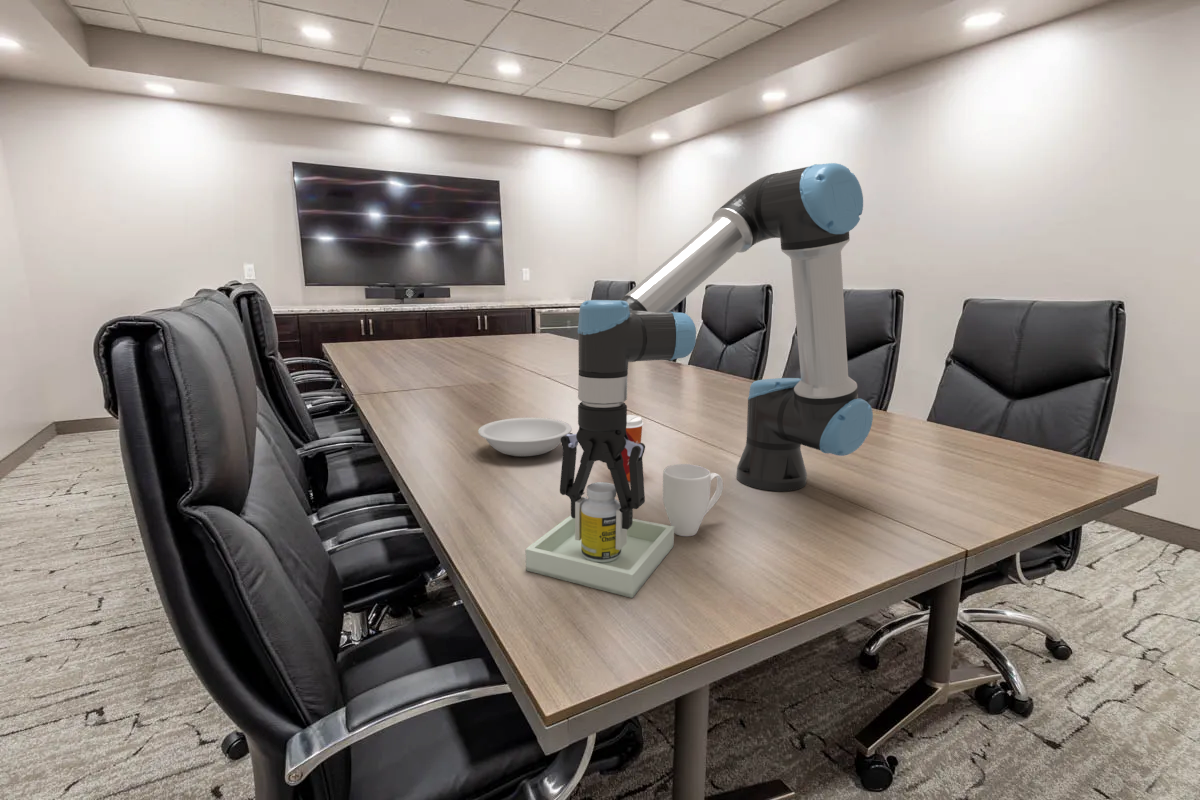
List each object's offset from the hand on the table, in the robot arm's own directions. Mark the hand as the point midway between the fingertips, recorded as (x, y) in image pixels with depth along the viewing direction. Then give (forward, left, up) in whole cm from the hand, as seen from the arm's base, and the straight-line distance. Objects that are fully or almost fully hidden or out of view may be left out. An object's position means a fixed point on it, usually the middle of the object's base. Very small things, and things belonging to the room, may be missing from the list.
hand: (600, 541), depth 93 cm
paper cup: (+12, -37, -3) cm, 39 cm away
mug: (-10, -17, -3) cm, 20 cm away
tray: (0, 0, -3) cm, 3 cm away
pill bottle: (0, 0, -3) cm, 3 cm away
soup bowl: (+43, -43, -3) cm, 61 cm away
